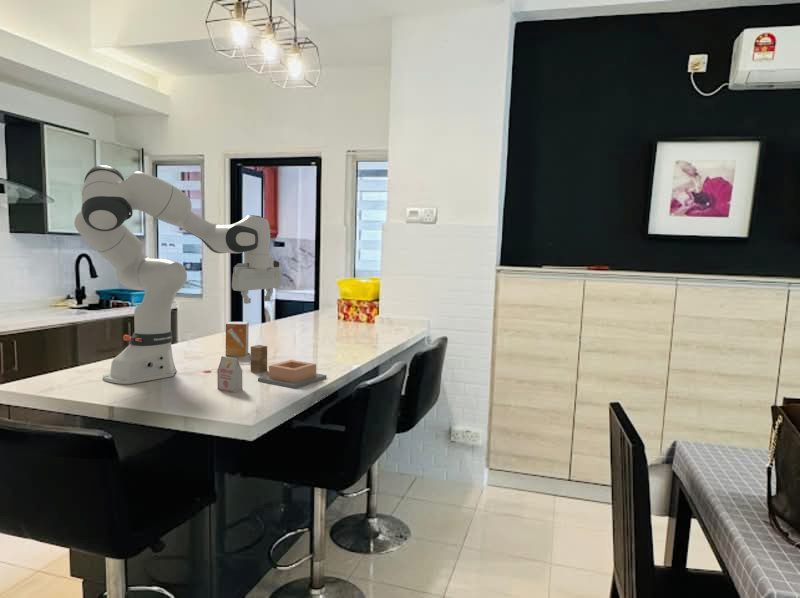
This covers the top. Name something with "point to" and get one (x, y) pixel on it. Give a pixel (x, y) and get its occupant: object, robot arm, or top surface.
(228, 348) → the small box
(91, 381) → the top surface
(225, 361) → the white carton
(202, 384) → the top surface
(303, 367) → the tan square frame
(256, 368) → the tall wooden block
